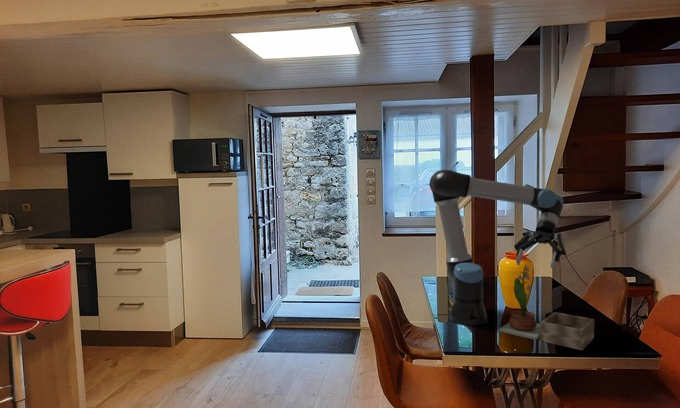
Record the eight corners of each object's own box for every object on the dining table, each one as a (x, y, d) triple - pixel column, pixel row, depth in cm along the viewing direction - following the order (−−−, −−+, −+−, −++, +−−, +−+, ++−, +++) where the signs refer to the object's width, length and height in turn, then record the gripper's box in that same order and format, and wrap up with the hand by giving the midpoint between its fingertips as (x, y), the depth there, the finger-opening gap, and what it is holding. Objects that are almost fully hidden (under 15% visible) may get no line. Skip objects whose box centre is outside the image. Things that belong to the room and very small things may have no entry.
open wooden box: (540, 340, 161) (540, 322, 161) (554, 329, 173) (554, 312, 173) (582, 350, 152) (582, 330, 152) (593, 337, 164) (594, 319, 163)
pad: (499, 331, 172) (499, 328, 172) (514, 321, 184) (514, 318, 184) (536, 339, 162) (536, 337, 162) (549, 328, 174) (550, 326, 174)
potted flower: (514, 320, 181) (514, 260, 180) (540, 325, 175) (540, 263, 174) (505, 329, 172) (506, 265, 170) (533, 334, 166) (533, 268, 164)
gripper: (580, 232, 183) (569, 274, 173) (520, 228, 200) (506, 266, 190) (577, 221, 179) (565, 263, 168) (515, 218, 196) (501, 256, 185)
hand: (534, 265), depth 179 cm, fingers open, 13 cm apart
